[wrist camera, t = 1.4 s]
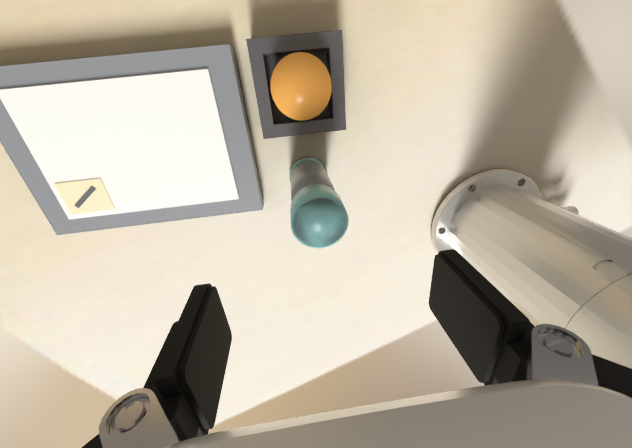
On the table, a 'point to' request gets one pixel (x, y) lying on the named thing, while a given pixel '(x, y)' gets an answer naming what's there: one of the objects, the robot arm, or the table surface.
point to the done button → (301, 86)
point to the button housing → (263, 63)
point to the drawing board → (131, 137)
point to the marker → (315, 205)
